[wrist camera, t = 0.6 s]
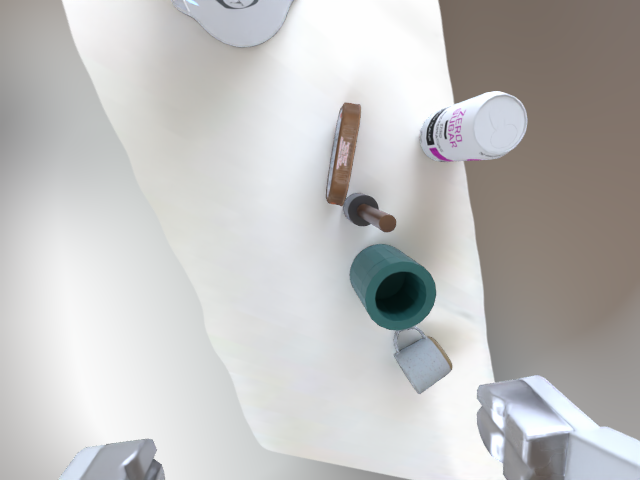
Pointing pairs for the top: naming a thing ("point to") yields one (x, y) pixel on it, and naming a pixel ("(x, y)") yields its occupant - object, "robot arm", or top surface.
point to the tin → (343, 153)
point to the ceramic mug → (422, 361)
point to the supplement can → (475, 128)
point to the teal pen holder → (392, 287)
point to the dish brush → (367, 212)
